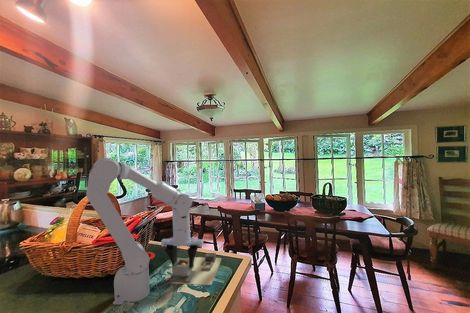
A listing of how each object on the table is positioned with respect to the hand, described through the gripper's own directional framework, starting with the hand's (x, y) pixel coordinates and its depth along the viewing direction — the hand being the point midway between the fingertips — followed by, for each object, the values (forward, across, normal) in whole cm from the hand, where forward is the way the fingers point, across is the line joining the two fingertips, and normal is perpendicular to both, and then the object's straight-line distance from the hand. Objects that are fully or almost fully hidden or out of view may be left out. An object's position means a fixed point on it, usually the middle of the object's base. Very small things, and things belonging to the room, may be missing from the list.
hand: (183, 266), depth 76 cm
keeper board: (+5, -4, -5) cm, 8 cm away
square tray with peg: (+5, 0, 0) cm, 5 cm away
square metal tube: (+2, 0, 0) cm, 2 cm away
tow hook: (+5, +23, -14) cm, 28 cm away
